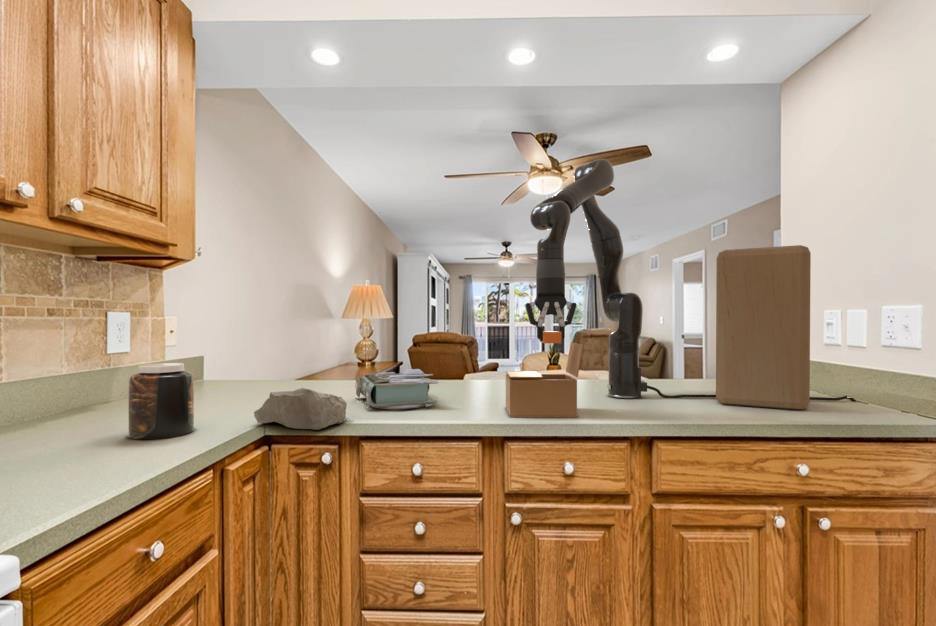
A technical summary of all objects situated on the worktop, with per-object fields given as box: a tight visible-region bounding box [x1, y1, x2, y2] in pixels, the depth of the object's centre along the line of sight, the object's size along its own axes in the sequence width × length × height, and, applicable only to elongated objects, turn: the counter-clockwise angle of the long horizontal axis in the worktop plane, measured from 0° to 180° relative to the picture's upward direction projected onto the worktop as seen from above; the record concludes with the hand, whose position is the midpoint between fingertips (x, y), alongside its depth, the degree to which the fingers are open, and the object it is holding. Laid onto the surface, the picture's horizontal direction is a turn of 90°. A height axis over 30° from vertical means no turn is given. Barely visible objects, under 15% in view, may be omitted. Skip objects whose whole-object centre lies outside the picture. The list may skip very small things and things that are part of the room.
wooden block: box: [715, 244, 812, 411], centre depth 144 cm, size 22×22×45 cm
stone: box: [253, 387, 348, 431], centre depth 115 cm, size 18×10×20 cm
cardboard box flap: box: [565, 341, 584, 378], centre depth 129 cm, size 8×13×1 cm
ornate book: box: [354, 368, 446, 410], centre depth 144 cm, size 23×10×30 cm
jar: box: [128, 362, 195, 440], centre depth 105 cm, size 12×12×15 cm
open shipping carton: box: [505, 370, 578, 418], centre depth 129 cm, size 17×13×10 cm
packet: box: [539, 330, 562, 344], centre depth 130 cm, size 7×4×3 cm, turn 179°
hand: (550, 340), depth 130 cm, fingers closed on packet, 4 cm apart
